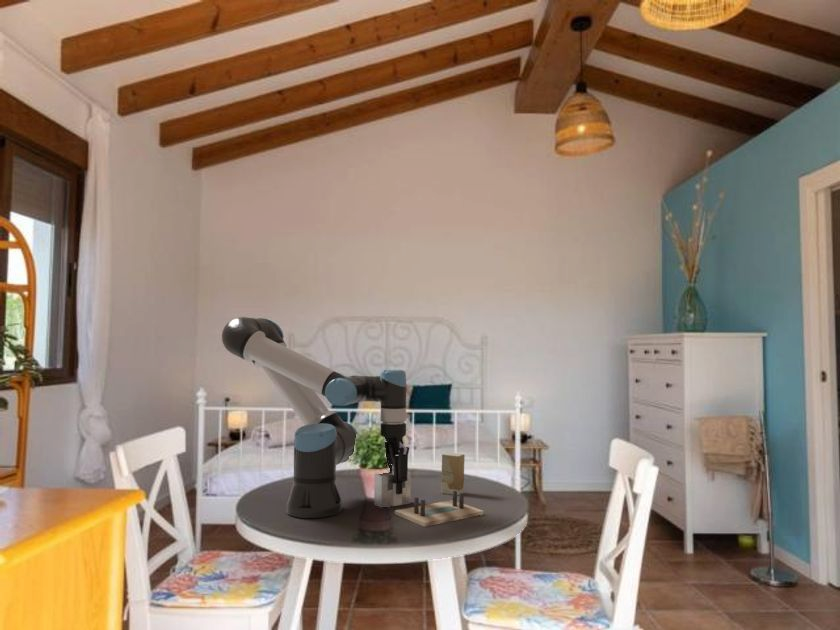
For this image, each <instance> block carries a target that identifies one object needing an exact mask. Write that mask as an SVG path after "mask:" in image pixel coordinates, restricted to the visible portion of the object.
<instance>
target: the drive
mask: <svg viewBox="0 0 840 630" xmlns="http://www.w3.org/2000/svg"><path fill="white" fill-rule="evenodd" d="M392 481H395V480H394V470H392V472H389V473H383V474H377V473H374V486H373V487H374V490H373V491H374V492H373V493H374V494H373V495H374V498H373V499H374V502H373V503H374V504H376V505H377V506H379V507H387V508H392V507H394V506H393V482H392ZM411 493H412V471H408V473H407V481H404V482H403V483H402V505H401V506H403V505H408V504H411V501H412V500H411V499H412V498H411V496H412V495H411ZM377 506H376V507H377ZM391 506H392V507H391ZM379 507H378V508H379Z"/></svg>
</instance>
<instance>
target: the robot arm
mask: <svg viewBox="0 0 840 630" xmlns="http://www.w3.org/2000/svg"><path fill="white" fill-rule="evenodd" d="M284 337H285V336H284V332H283V329H282V328H281V327H280V325H279V324H278V323H277V322H274V321H273V320H272V319H271V320H270V319H267V318H255V317H245V316H239V317H235V318H233V319H231V320H230V321H228V322H227V323H226V324H225V326H224V327H223V330H222V332H221V341H222V344H223V347H224V348H225V349H226V350H227V351H228V352H229V353H231V354H232V355H234V356H237V357H239V358H241V359H242V360H244V361H246V362H252V363H253V365H254V366H255V367H256V368H261V369H263V370H264V372H265V373H266V375H267V376H268V377H269V378H270V380H271V381H272V383H273V384H274V386H276V387H275V388H277V390H278V391H279V392H280V394H281V395H282V396H283V398H284V399H285V401H286V402H287V404H288V405H289V406H290V408H291V409H292V410H293V412H294V413H295V415H296V416H297V418H298V419H299V420H300V422H301V423H302V424H303V426H300V427H298V428H297V429H296V430H295V432H294V440H293V484H292V487H291V490H290V493H289V495H288V499H287V502H286V514H287V515H289V516H291V517H294V518H301V519H302V518H303V519H319V518H326V517H332V516H335V515H337V514H338V515H339V513H341V512H342V510H343V508H342V507H343V506H342V505H343V504H342V503H343V502H342V499H341V495H340V492H339V489H338V485H337V481H336V480H337V479H336V478H337V476H336V475H337V466H339V465H340V464H342V463H346V462H347V461H349V460H350V459H349V456H351V455H352V454H353V452H354V445H355V438H356V434H357V433H358V430H357V429H356V428H355V427H354V426H353V425H352V424H351V423H349V422H346V421H344V420H343V419H342V418H341V416H340V415H339V414H338V413H337V412H336V411H332V410H331V411H330V410H329V409H328V407H327V406H326V405H325V403H324V401H323V400H322V399H321V397H320V396H319V395H321V396H323V397H325V398H326V400H327V402H329V403H330V405H332V406H335V407H346V406H349V405H352V404H357V403H361V402H375V403H376V402H378V403H379V402H380V418H379V419H380V422H382V423H381V424H380V436H381V437H383V438H384V437H385V439H386V441H387V442H385V448H386V457H387V462H386V464H387V463H388V466H389V468H390V472H392V471H394V480H395V481H392V482H393V506H392V507H397V506H403V505H402V483H403V482H404V481H407V473H408V472H409V471H408V467H409V465H408V464H409V463H408V461H409V460H408V459H409V451H410V448H409V446H405V445H404V440H403V439H404V437H406V435H407V424H406V423H405V422H406V421H407V374H406V371H405V370H402V369H382V370H381V372H380V375H378V376H377V375H376V376H369V375H368V376H367V375H355V374H354V375H347V376H346V375H344V374H342V373H339V372H337V371H335V370H334V369H332V368H330V367H327V366H325V365H323V364H321V363H319V362H317V361H315V360H313V359H311V358H309V357H308V356H307V357H306V356H305V355H304V354H300V353H299V352H296V351H294V350H292V349H290V348H288V347H287V346H288V345H287V343H286V342H285V340H284ZM318 394H319V395H318ZM388 461H389V462H388ZM389 464H390V465H389ZM391 464H392V465H391ZM386 466H387V465H386Z"/></svg>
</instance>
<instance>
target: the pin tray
mask: <svg viewBox="0 0 840 630" xmlns="http://www.w3.org/2000/svg"><path fill="white" fill-rule="evenodd" d="M458 496H459V497H458ZM413 498H414V499H413V500H414V501H413V506H412V507H407V508H401V509H395V510H394V515H396V516H399V517H401V518H403V519H405V520H408V521H410V522H413V523H414V524H417V525H419V526H421V527H424V528H425V527H429V526H435V525H439V524H445V523H449V522H455V521H459V519H460V520H464V519H469V517H470V518H474V516H475V517H479V516H478V515H480V516H483V514H485V513H484V512H485V511H484V510H482V509H480V508H477V507H473V506H471V505H468V504H465V503H464V501H465V500H464V499H465V497H464V493H459V495H457V491H453V495H452V500H445V501H439V502H433V503H428V504H426V500H425V499H421V500H420V503H419V498H420V497H413ZM458 498H459V499H458ZM419 504H420V505H419Z"/></svg>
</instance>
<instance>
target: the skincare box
mask: <svg viewBox="0 0 840 630" xmlns="http://www.w3.org/2000/svg"><path fill="white" fill-rule="evenodd" d="M465 458H466V457H465V454H463V453H456V452H445V453H442V454H441V480H440V493H442V494H447V495H452V494H453V491H457V496H459V493H463V492H464V491H465V490H464V487H465V483H464V480H465ZM463 494H464V493H463Z"/></svg>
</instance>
